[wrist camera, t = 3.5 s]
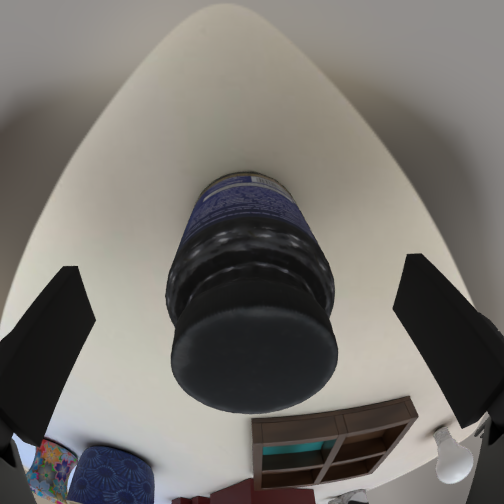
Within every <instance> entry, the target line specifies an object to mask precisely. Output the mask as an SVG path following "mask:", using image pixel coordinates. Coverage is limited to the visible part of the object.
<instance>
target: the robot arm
mask: <svg viewBox="0 0 504 504" xmlns="http://www.w3.org/2000/svg"><path fill="white" fill-rule="evenodd" d="M393 311H394V312H395V314H396V315H397V317H398V318H399V320H400V321H401V323H402V325H403V326H404V328H405V329H406V331H407V333H408V334H409V336H410V337H411V339H412V341H413V342H414V344H415V345H416V347H417V349H418V350H419V352H420V354H421V355H422V357H423V359H424V360H425V362H426V364H427V366H428V367H429V369H430V371H431V372H432V374H433V376H434V378H435V379H436V381H437V383H438V385H439V387H440V388H441V390H442V392H443V394H444V396H445V398H446V399H447V401H448V403H449V405H450V407H451V409H452V411H453V413H454V415H455V416H456V418H457V420H458V422H459V424H460V426H461V428H462V429H463V428H465V427H467V426H469V425H472V424H474V423H476V422H478V420H479V419H480V418H481V417H482V416H483V415H484V413H485V412H486V411H487V412H488V414H489V415H490V416H489V417H488V419H487V420H486V421H485V422H484V423H483V424H482V425H481V426H480V428H479V429H478V430H477V431H476V433H475V435H474V436H475V437H476V436H478V435H479V434H480V433H481V431H482V430H483V429H484V433H483V434H482V435H481V436H480V438H483V439H482V445H481V449H480V454H479V459H478V463H477V467H476V471H475V475H474V478H473V482H472V485H471V489H470V492H469V495H468V498H467V501H466V504H504V336H503V335H502V334H501V332H500V331H498V329H497V328H496V326H495V325H494V324H493V323H492V322H491V321H490V320H489V319H488V318H486V317H485V316H484V315H482V314H481V313H478V312H477V311H476V309H475V308H474V307H473V306H472V305H471V304H470V303H469V302H468V301H467V299H466V298H465V297H464V296H463V295H462V294H461V293H460V292H459V291H458V290H457V289H456V288H455V287H454V285H453V284H452V283H451V282H450V281H449V280H448V279H447V278H446V277H445V276H444V275H443V274H442V273H441V272H440V271H439V270H438V269H437V268H436V267H435V266H434V265H433V264H432V263H431V262H430V261H429V260H428V259H427V258H426V257H425V256H424V255H423V254H422V253H419V254H407V256H406V260H405V264H404V268H403V272H402V276H401V280H400V284H399V288H398V291H397V295H396V298H395V302H394V305H393ZM95 321H96V319H95V316H94V313H93V311H92V308H91V305H90V302H89V300H88V297H87V294H86V291H85V288H84V285H83V282H82V278H81V275H80V272H79V269H78V266H63V267H62V268H61V269H60V270H59V271H58V273H57V274H56V275H55V276H54V277H53V279H52V280H51V281H50V282H49V283H48V285H47V286H46V287H45V288H44V289H43V291H42V292H41V293H40V294H39V296H38V297H37V298H36V299H35V301H34V302H33V303H32V304H31V306H30V307H29V308H28V310H27V311H26V312H25V314H24V315H23V316H22V318H21V319H20V320H19V322H18V323H17V324H16V326H15V327H14V329H13V330H12V331H11V332H10V333H9V334H8V335H7V336H5V337H4V338H3V339H2V340H1V341H0V504H37V503H36V501H35V498H34V496H33V493H32V491H31V488H30V485H29V483H28V480H27V477H26V474H25V471H24V468H23V465H22V462H21V459H20V456H19V452H18V449H17V445H16V443H15V441H14V440H13V439H12V436H13V433H15V434H16V435H17V436H18V437H19V438H20V439H21V440H22V441H23V442H25V443H28V444H31V445H33V446H36V447H39V448H40V446H41V444H42V441H43V438H44V435H45V433H46V430H47V427H48V425H49V422H50V419H51V417H52V414H53V412H54V409H55V407H56V404H57V402H58V400H59V397H60V395H61V393H62V390H63V388H64V386H65V383H66V381H67V379H68V377H69V375H70V372H71V370H72V368H73V366H74V364H75V362H76V359H77V357H78V355H79V353H80V351H81V349H82V347H83V345H84V343H85V341H86V339H87V337H88V335H89V333H90V331H91V329H92V327H93V325H94V323H95Z"/></svg>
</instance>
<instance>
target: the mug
mask: <svg viewBox="0 0 504 504" xmlns="http://www.w3.org/2000/svg"><path fill="white" fill-rule="evenodd" d="M335 503H338V504H369V503H368V499H367V495H366V491H365V490H357V491H352V492H349V493H346V494H343V495H341V496H339V497H338V498H337V499H335V500H332V501H329V502H328V504H335Z"/></svg>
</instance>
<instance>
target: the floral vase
mask: <svg viewBox="0 0 504 504" xmlns="http://www.w3.org/2000/svg"><path fill="white" fill-rule="evenodd" d="M77 464H78V460H77V458H76V457H75V456H74V455H73V454H72V453H70V452H69V451H68V450H66V449H65V448H63V447H61V446H59V445H57V444H55V443H53V442H51V441H48V440H44V439H43V441H42V444H41V446H40V448H39V447H36V453H35V458H34V461H33V464H32V466H31V468H30V469H29V471H28V472H27V474H26V477H27V480H28V483H29V485H30V488H31V491H32V492H33V493H35V494H37V495H39V496H41V497H43V498H45V499H47V500H49V501H51V502H54V503H56V504H68V503H67V502H66V499H67V484H68V479H69V475H70V473H71V471H72V469H73V468H74V467H75V466H76V465H77Z"/></svg>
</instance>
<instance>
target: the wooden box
mask: <svg viewBox="0 0 504 504" xmlns="http://www.w3.org/2000/svg"><path fill="white" fill-rule="evenodd" d="M417 418H418V414H417V411H416V409H415V407H414V405H413V402H412V400H411V398H410V396H408V397H404V398H400V399H396V400H391V401H387V402H383V403H378V404H373V405H368V406H363V407H357V408H351V409H346V410H339V411H333V412H325V413H318V414H309V415H300V416H289V417H276V418H260V419H251V422H252V451H253V478H254V491H260V490H276V489H287V488H297V487H305V486H312V485H319V484H325V483H331V482H336V481H342V480H347V479H351V478H356V477H360V476H364V475H369V474H372V473H373V472H374V471H375V470H376V469H377V468H378V467H379V465H380V464H381V463H382V462H383V461H384V460H385V459H386V457H387V456H388V455H389V454H390V453H391V451H392V450H393V449H394V448H395V447H396V445H397V444H398V443H399V442H400V440H401V439H402V438H403V437H404V435H405V434H406V433H407V431H408V430H409V429H410V427H411V426H412V425H413V423H414V422H415V421H416V419H417Z"/></svg>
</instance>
